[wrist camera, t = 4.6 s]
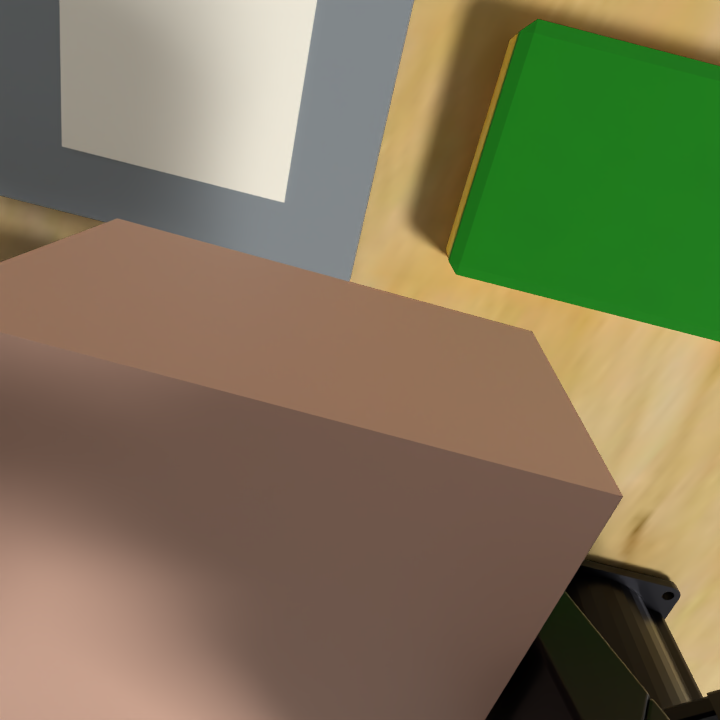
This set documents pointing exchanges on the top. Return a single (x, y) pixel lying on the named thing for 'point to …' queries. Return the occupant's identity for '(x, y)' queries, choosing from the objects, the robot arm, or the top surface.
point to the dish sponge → (598, 180)
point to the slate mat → (203, 117)
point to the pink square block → (271, 490)
